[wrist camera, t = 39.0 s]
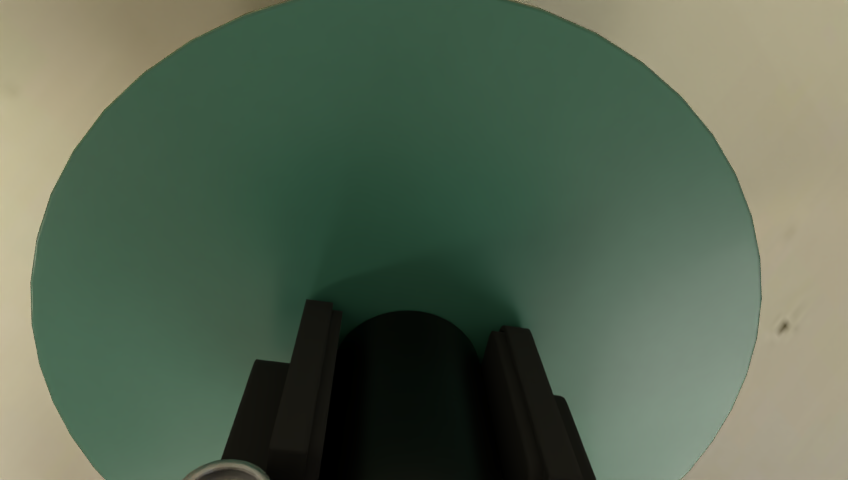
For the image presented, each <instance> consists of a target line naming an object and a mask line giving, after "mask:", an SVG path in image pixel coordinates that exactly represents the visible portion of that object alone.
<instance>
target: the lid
mask: <svg viewBox="0 0 848 480" xmlns="http://www.w3.org/2000/svg"><path fill="white" fill-rule="evenodd" d="M306 299H309V300H317V301H324V302H332V303H333V309H332V310H338V311H343V313H342V320H341V327H340V334H339V341H338V348H337V355H336V362H335V369H334V376H333V383H332V390H331V397H330V404H329V411H328V418H327V425H326V432H325V439H324V446H323V453H322V460H321V467H320V473H319V480H503V476H502V472H501V467H500V462H499V457H498V452H497V447H496V442H495V438H494V433H493V428H492V423H491V418H490V413H489V408H488V403H487V399H486V394H485V389H484V384H483V379H482V374H481V369H480V368H481V364H482V361H483V357H484V353H485V350H486V346H487V343H488V339H489V336H490V333H491V332H492V331H498V332H499V330H500V328H501V326H503V325H505V326H513V327H520V328H528V329H530V331H531V333H532V336H533V339H534V341H535V344H536V347H537V350H538V353H539V356H540V358H541V361H542V364H543V367H544V370H545V372H546V375H547V378H548V381H549V384H550V386H551V389H552V392H553V395H559V396H562V397H564V398H565V400H566V402H567V404H568V406H569V409H570V412H571V414H572V417H573V419H574V422H575V425H576V427H577V430H578V433H579V435H580V438H581V440H582V443H583V446H584V448H585V451H586V454H587V456H588V459H589V461H590V464H591V467H592V469H593V472H594V475H595V477H596V480H681V479H682V478H683V477H684V476H685V475H686V474H687V473H688V472H689V471H690V469H691V468H692V467H693V466H694V464H695V463H696V462H697V461H698V459H699V458H700V457H701V455H702V454H703V453H704V452H705V450H706V449H707V448H708V446H709V445H710V444H711V443H712V441H713V440H714V438H715V436H716V435H717V433H718V431H719V430H720V428H721V426H722V425H723V423H724V421H725V420H726V418H727V416H728V415H729V413H730V411H731V410H732V408H733V405H734V403H735V401H736V398H737V396H738V394H739V391H740V389H741V387H742V384H743V382H744V380H745V378H746V375H747V372H748V368H749V365H750V361H751V357H752V354H753V350H754V347H755V343H756V339H757V333H758V325H759V316H760V308H761V300H762V295H761V267H760V255H759V250H758V245H757V240H756V235H755V230H754V225H753V220H752V215H751V213H750V210H749V207H748V205H747V202H746V200H745V197H744V194H743V192H742V189H741V186H740V184H739V181H738V178H737V176H736V174H735V172H734V170H733V168H732V167H731V165H730V163H729V162H728V160H727V158H726V156H725V155H724V153H723V151H722V150H721V148H720V146H719V144H718V143H717V141H716V139H715V138H714V136H713V134H712V133H711V132H710V131H709V129H708V128H707V127H706V126H705V124H704V123H703V122H702V121H701V120H700V118H699V117H698V116H697V115H696V114H695V112H694V111H693V110H692V109H691V108H690V106H689V105H688V104H687V103H686V101H685V100H684V99H683V98H682V97H681V96H680V95H679V94H678V93H677V92H676V91H675V90H673V89H672V88H671V87H670V86H669V85H668V84H667V83H665V82H664V81H663V80H662V79H661V78H660V77H659V76H658V75H656V74H655V73H654V72H653V71H652V70H651V69H650V68H648V67H647V66H646V65H645V64H644V63H643V62H641V61H640V60H638V59H637V58H635V57H633V56H632V55H630V54H629V53H627V52H626V51H624V50H622V49H621V48H619V47H618V46H616V45H615V44H613V43H611V42H610V41H608V40H607V39H605V38H604V37H602V36H600V35H599V34H597V33H595V32H593V31H591V30H589V29H586V28H584V27H582V26H580V25H577V24H575V23H573V22H571V21H568V20H566V19H564V18H562V17H559V16H557V15H555V14H552V13H550V12H548V11H546V10H543V9H541V8H538V7H535V6H531V5H528V4H524V3H520V2H517V1H513V0H288V1H284V2H281V3H278V4H275V5H272V6H268V7H265V8H262V9H259V10H256V11H252V12H249V13H247V14H244V15H242V16H240V17H238V18H236V19H234V20H232V21H230V22H228V23H226V24H224V25H221V26H219V27H217V28H215V29H213V30H211V31H209V32H207V33H205V34H203V35H201V36H199V37H197V38H195V39H192V40H190V41H189V42H187V43H186V44H185V45H183V46H182V47H180V48H179V49H177V50H176V51H174V52H173V53H171V54H170V55H169V56H167V57H166V58H164V59H163V60H161V61H160V62H158V63H157V64H155V65H154V66H153V67H151V68H150V69H148V70H147V71H145V72H144V73H143V74H142V75H141V76H140V77H138V78H137V79H136V80H135V81H134V82H133V83H132V84H131V85H130V86H129V87H128V88H127V89H126V90H125V91H124V92H123V93H122V94H121V95H119V96H118V97H117V98H116V99H115V100H114V101H113V102H112V103H111V104H110V105H109V106H108V107H107V108H106V109H105V110H104V111H103V112H102V114H101V115H100V116H99V118H98V119H97V120H96V122H95V123H94V124H93V125H92V127H91V128H90V129H89V131H88V132H87V133H86V135H85V136H84V137H83V139H82V140H81V141H80V143H79V144H78V145H77V147H76V148H75V149H74V151H73V152H72V154H71V156H70V158H69V160H68V162H67V164H66V166H65V168H64V170H63V172H62V173H61V175H60V177H59V179H58V181H57V183H56V185H55V187H54V189H53V191H52V193H51V195H50V198H49V201H48V204H47V208H46V211H45V214H44V217H43V220H42V223H41V226H40V229H39V232H38V236H37V240H36V247H35V254H34V261H33V268H32V276H31V315H32V328H33V333H34V339H35V344H36V349H37V354H38V359H39V364H40V367H41V370H42V373H43V376H44V378H45V381H46V384H47V387H48V389H49V392H50V395H51V398H52V401H53V403H54V405H55V407H56V408H57V410H58V412H59V414H60V416H61V418H62V420H63V422H64V423H65V425H66V427H67V429H68V431H69V433H70V435H71V437H72V438H73V439H74V441H75V442H76V443H77V445H78V446H79V448H80V449H81V450H82V452H83V453H84V454H85V456H86V457H87V459H88V460H89V461H90V463H91V464H92V465H93V467H94V468H95V469H96V470H97V471H98V472H99V473H100V475H101V476H102V477H103V478H104V479H105V480H183V479H184V477H185V476H186V475H187V474H188V473H190V472H191V471H193V470H195V469H196V468H198V467H199V466H201V465H204V464H207V463H210V462H213V461H216V460H221V458H222V455H223V452H224V449H225V446H226V443H227V440H228V437H229V434H230V431H231V428H232V425H233V422H234V419H235V417H236V414H237V411H238V408H239V405H240V402H241V399H242V396H243V393H244V390H245V387H246V384H247V381H248V378H249V375H250V372H251V370H252V367H253V364H254V362H255V360H256V359H259V360H267V361H275V362H284V363H290V361H291V357H292V354H293V350H294V346H295V342H296V338H297V334H298V330H299V326H300V322H301V318H302V314H303V310H304V306H305V302H306Z"/></svg>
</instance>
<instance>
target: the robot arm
mask: <svg viewBox="0 0 848 480" xmlns="http://www.w3.org/2000/svg"><path fill="white" fill-rule="evenodd" d="M332 309H333V303H332V302H324V301H317V300H309V299H306V302H305V306H304V310H303V314H302V318H301V322H300V326H299V330H298V334H297V338H296V342H295V346H294V350H293V354H292V357H291V361H290V363H284V362H275V361H267V360H259V359H256V360H255V362H254V364H253V367H252V370H251V372H250V375H249V378H248V381H247V384H246V387H245V390H244V393H243V396H242V399H241V402H240V405H239V408H238V411H237V414H236V417H235V419H234V422H233V425H232V428H231V431H230V434H229V437H228V440H227V443H226V446H225V449H224V452H223V455H222V458H221V460H216V461H213V462H210V463H207V464H204V465H201V466H199V467H198V468H196V469H195V470H193V471H191V472H190V473H188V474H187V475H186V476H185V477H184V479H183V480H319V473H320V467H321V460H322V453H323V446H324V439H325V432H326V425H327V418H328V411H329V404H330V397H331V390H332V383H333V376H334V369H335V362H336V355H337V348H338V341H339V334H340V327H341V320H342V313H343V311H338V310H332ZM480 369H481V374H482V379H483V384H484V389H485V394H486V399H487V403H488V408H489V413H490V418H491V423H492V428H493V433H494V438H495V442H496V447H497V452H498V457H499V462H500V467H501V472H502V476H503V480H596V477H595V475H594V472H593V469H592V467H591V464H590V461H589V459H588V456H587V454H586V451H585V448H584V446H583V443H582V440H581V438H580V435H579V433H578V430H577V427H576V425H575V422H574V419H573V417H572V414H571V412H570V409H569V406H568V404H567V402H566V400H565V398H564V397H562V396H559V395H553V392H552V389H551V386H550V384H549V381H548V378H547V375H546V372H545V370H544V367H543V364H542V361H541V358H540V356H539V353H538V350H537V347H536V344H535V341H534V339H533V336H532V333H531V331H530V329H528V328H520V327H513V326H505V325H503V326H501V328H500V330H499V332H498V331H492V332H491V333H490V336H489V339H488V343H487V346H486V350H485V353H484V357H483V361H482V364H481V368H480Z"/></svg>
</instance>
